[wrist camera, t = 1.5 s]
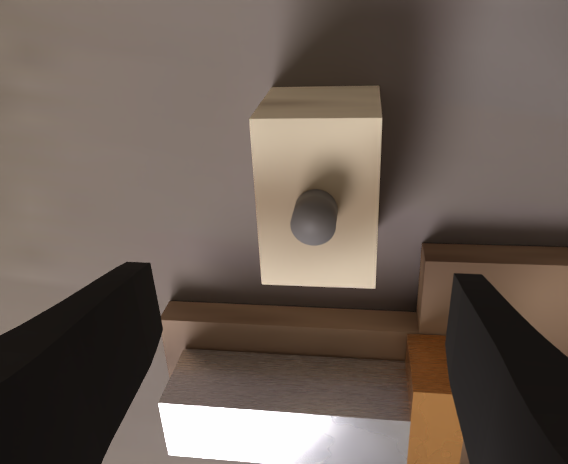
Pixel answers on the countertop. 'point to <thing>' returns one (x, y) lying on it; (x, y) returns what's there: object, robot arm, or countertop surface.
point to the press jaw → (313, 407)
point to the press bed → (377, 323)
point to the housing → (317, 185)
